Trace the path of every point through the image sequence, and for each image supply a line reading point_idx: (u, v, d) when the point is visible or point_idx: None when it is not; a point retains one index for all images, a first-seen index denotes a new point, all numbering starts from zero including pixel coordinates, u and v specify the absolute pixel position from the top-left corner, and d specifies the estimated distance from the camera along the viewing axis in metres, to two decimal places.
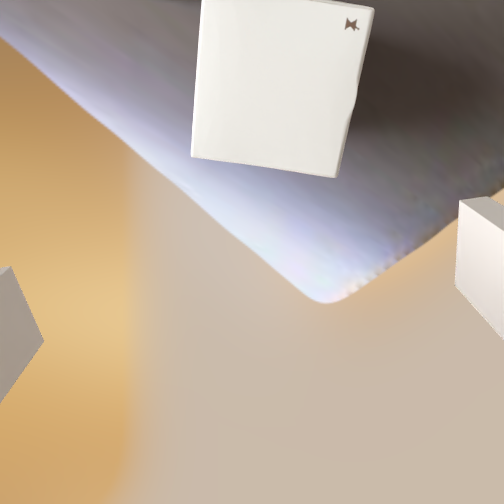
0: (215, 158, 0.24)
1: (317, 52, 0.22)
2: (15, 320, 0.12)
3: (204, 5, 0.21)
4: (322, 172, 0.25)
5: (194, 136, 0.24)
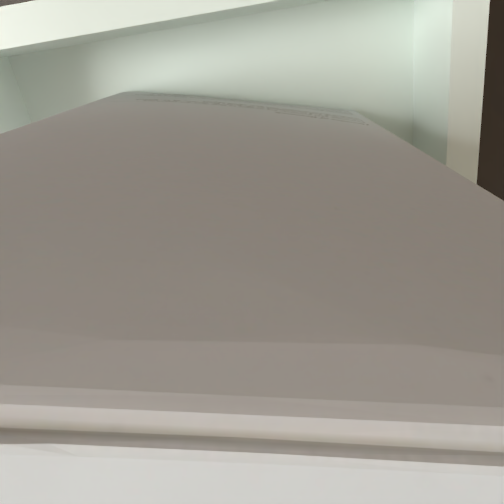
0: None
1: None
2: None
3: None
4: None
5: None
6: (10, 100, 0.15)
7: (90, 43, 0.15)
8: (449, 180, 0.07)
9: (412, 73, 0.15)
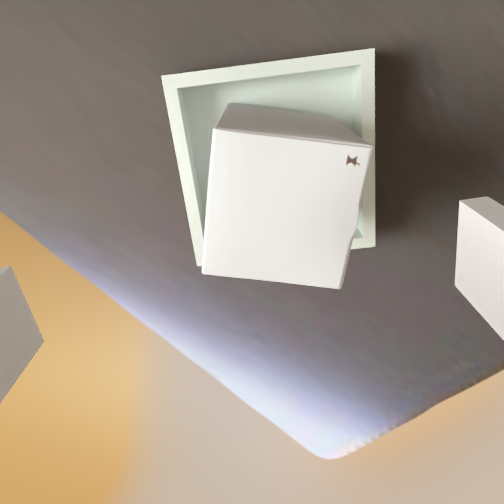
0: (225, 274, 0.26)
1: (320, 184, 0.23)
2: (15, 320, 0.12)
3: (214, 147, 0.22)
4: (327, 285, 0.26)
5: (204, 256, 0.25)
6: (183, 104, 0.35)
7: None
8: (343, 129, 0.27)
9: (352, 99, 0.36)
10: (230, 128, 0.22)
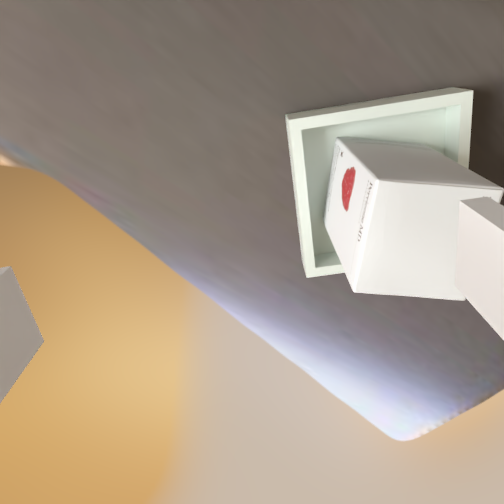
0: (372, 292, 0.31)
1: None
2: (15, 320, 0.12)
3: (376, 193, 0.28)
4: (454, 298, 0.32)
5: (357, 278, 0.31)
6: None
7: None
8: (460, 167, 0.33)
9: (445, 130, 0.41)
10: (389, 178, 0.28)
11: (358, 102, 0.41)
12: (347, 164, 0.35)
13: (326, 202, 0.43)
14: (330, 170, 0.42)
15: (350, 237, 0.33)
